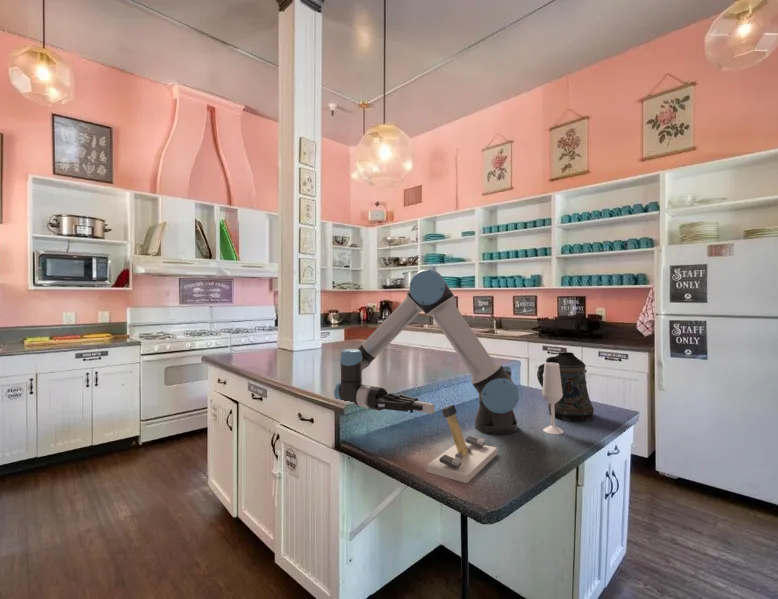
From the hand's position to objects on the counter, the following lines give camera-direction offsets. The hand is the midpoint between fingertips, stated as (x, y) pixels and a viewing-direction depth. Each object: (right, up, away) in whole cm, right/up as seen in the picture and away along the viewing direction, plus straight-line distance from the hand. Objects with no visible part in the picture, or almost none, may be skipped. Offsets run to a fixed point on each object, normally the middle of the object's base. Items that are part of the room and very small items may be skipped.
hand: (433, 408), depth 119 cm
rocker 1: (+3, -11, -12) cm, 17 cm away
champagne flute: (+45, -13, +19) cm, 51 cm away
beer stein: (+58, -13, +35) cm, 69 cm away
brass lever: (+8, -12, -5) cm, 15 cm away
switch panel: (+8, -14, -5) cm, 17 cm away
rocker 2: (+13, -11, +1) cm, 17 cm away
